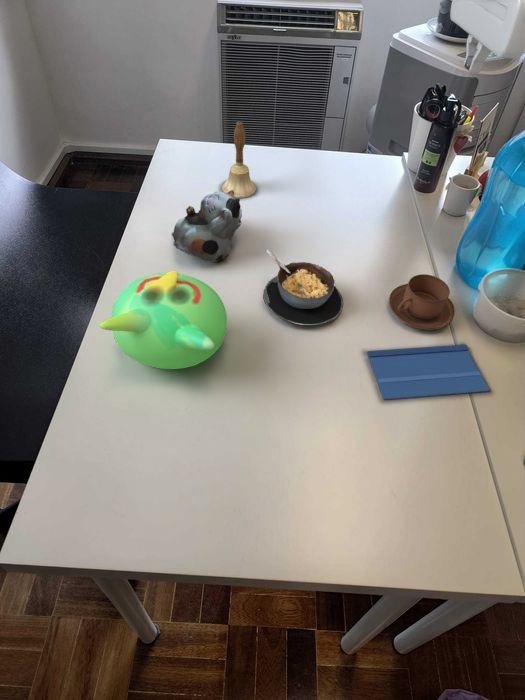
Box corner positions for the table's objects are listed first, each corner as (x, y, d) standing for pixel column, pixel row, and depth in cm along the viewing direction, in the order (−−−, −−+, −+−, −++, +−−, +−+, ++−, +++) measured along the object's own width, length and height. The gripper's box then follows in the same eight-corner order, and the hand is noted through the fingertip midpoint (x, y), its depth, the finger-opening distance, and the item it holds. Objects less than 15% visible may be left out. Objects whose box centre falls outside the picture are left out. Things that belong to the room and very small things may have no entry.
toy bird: (231, 320, 85) (231, 255, 74) (220, 397, 74) (218, 333, 63) (132, 312, 85) (117, 246, 74) (106, 388, 74) (84, 322, 63)
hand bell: (258, 197, 112) (261, 130, 100) (223, 198, 111) (222, 130, 99) (253, 179, 117) (256, 113, 105) (220, 180, 116) (219, 113, 104)
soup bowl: (287, 340, 82) (291, 310, 77) (247, 285, 91) (248, 254, 86) (357, 315, 87) (366, 285, 82) (312, 265, 96) (317, 234, 91)
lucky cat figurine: (171, 228, 102) (195, 166, 96) (222, 249, 106) (248, 191, 99) (167, 253, 89) (193, 184, 83) (225, 276, 93) (254, 211, 87)
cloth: (464, 346, 83) (465, 343, 83) (488, 391, 77) (490, 389, 77) (366, 352, 81) (367, 350, 81) (383, 400, 75) (384, 397, 74)
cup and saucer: (431, 345, 83) (443, 321, 78) (374, 312, 88) (382, 287, 83) (462, 312, 89) (474, 287, 85) (407, 282, 94) (416, 257, 90)
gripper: (567, -18, 61) (518, 95, 71) (497, -50, 74) (464, 49, 85) (522, -19, 60) (479, 95, 71) (459, -52, 73) (431, 49, 84)
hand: (470, 70), depth 78 cm, fingers closed
